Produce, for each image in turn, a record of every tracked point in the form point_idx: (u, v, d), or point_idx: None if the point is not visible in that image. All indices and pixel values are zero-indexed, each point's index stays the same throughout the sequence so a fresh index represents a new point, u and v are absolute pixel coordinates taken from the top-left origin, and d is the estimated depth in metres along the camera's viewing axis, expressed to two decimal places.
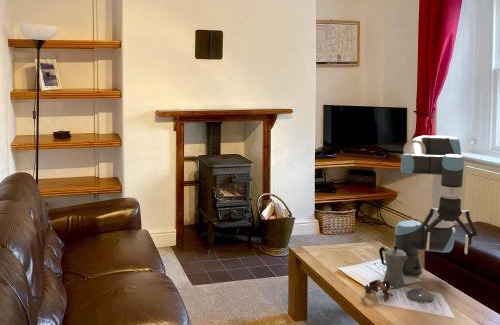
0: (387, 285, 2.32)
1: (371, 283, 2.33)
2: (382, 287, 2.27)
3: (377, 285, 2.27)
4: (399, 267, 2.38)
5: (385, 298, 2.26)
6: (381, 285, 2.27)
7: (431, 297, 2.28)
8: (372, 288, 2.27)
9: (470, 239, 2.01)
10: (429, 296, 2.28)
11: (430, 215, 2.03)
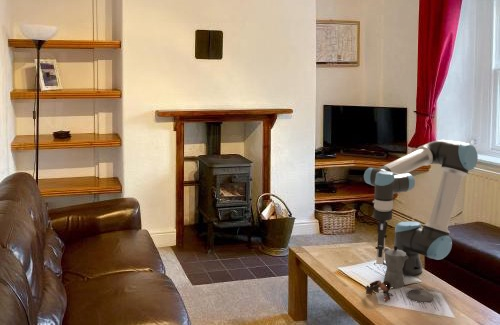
0: (388, 286, 2.32)
1: (372, 284, 2.32)
2: (383, 288, 2.26)
3: (378, 286, 2.26)
4: (399, 267, 2.38)
5: (386, 299, 2.25)
6: (382, 286, 2.27)
7: (431, 297, 2.28)
8: (373, 289, 2.26)
9: (378, 251, 2.19)
10: (429, 296, 2.28)
11: None
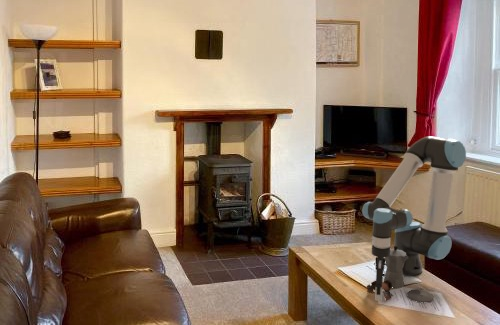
0: (389, 285, 2.32)
1: (373, 283, 2.33)
2: (384, 287, 2.27)
3: None
4: (399, 267, 2.38)
5: (387, 298, 2.26)
6: (383, 285, 2.27)
7: (431, 297, 2.28)
8: (374, 288, 2.27)
9: (376, 289, 2.24)
10: (429, 296, 2.28)
11: None
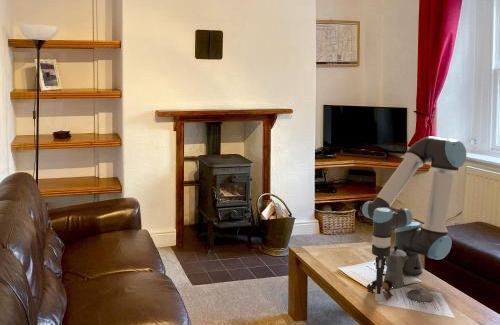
0: (389, 284, 2.33)
1: (373, 282, 2.33)
2: (384, 286, 2.27)
3: None
4: (399, 267, 2.38)
5: (387, 297, 2.26)
6: (383, 284, 2.28)
7: (431, 297, 2.28)
8: (374, 287, 2.27)
9: (377, 288, 2.24)
10: (429, 296, 2.28)
11: None
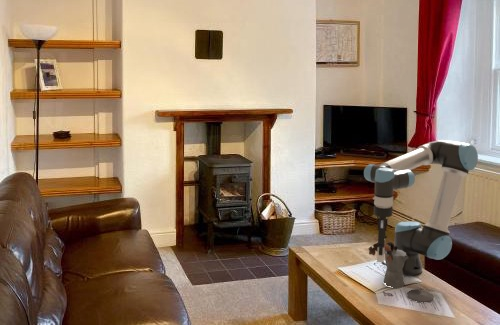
0: (391, 247, 2.29)
1: (375, 245, 2.30)
2: (386, 248, 2.24)
3: None
4: (399, 267, 2.38)
5: (389, 259, 2.23)
6: (385, 246, 2.25)
7: (431, 297, 2.28)
8: (376, 249, 2.24)
9: (379, 249, 2.21)
10: (429, 296, 2.28)
11: None
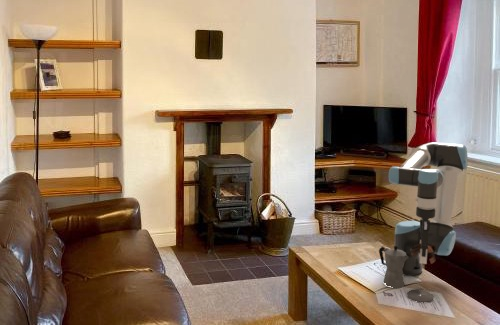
0: (433, 248, 2.29)
1: (417, 246, 2.29)
2: (429, 249, 2.23)
3: None
4: (399, 267, 2.38)
5: (432, 260, 2.22)
6: None
7: (431, 297, 2.28)
8: (418, 250, 2.23)
9: (422, 251, 2.20)
10: (429, 296, 2.28)
11: None
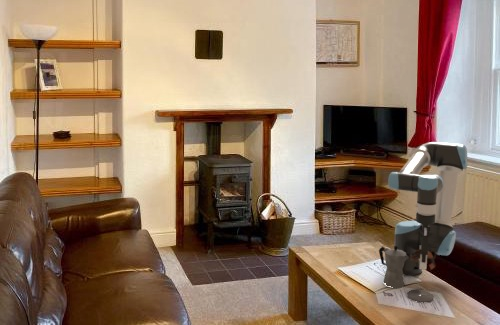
0: (433, 254, 2.29)
1: (416, 252, 2.30)
2: (428, 255, 2.24)
3: None
4: (399, 267, 2.38)
5: (431, 266, 2.23)
6: None
7: (431, 297, 2.28)
8: (418, 256, 2.24)
9: (422, 257, 2.21)
10: (429, 296, 2.28)
11: None
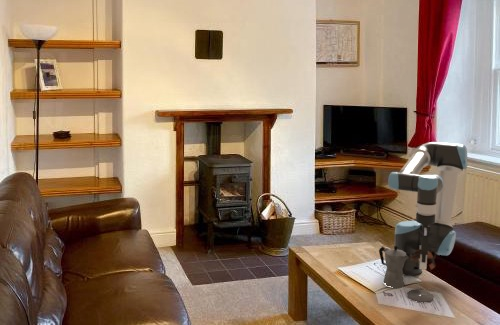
0: (433, 254, 2.29)
1: (416, 252, 2.30)
2: (428, 255, 2.24)
3: None
4: (399, 267, 2.38)
5: (431, 266, 2.23)
6: None
7: (431, 297, 2.28)
8: (418, 256, 2.24)
9: (422, 257, 2.21)
10: (429, 296, 2.28)
11: None
